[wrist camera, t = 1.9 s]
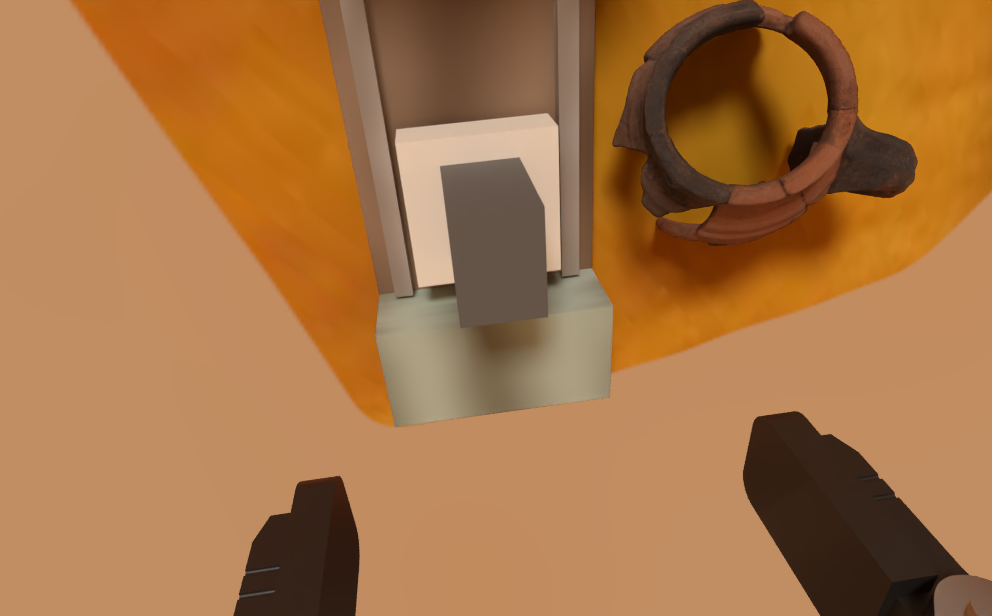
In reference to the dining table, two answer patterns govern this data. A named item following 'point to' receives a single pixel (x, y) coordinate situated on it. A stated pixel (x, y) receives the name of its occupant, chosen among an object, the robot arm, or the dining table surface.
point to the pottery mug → (813, 160)
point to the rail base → (371, 137)
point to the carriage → (485, 212)
